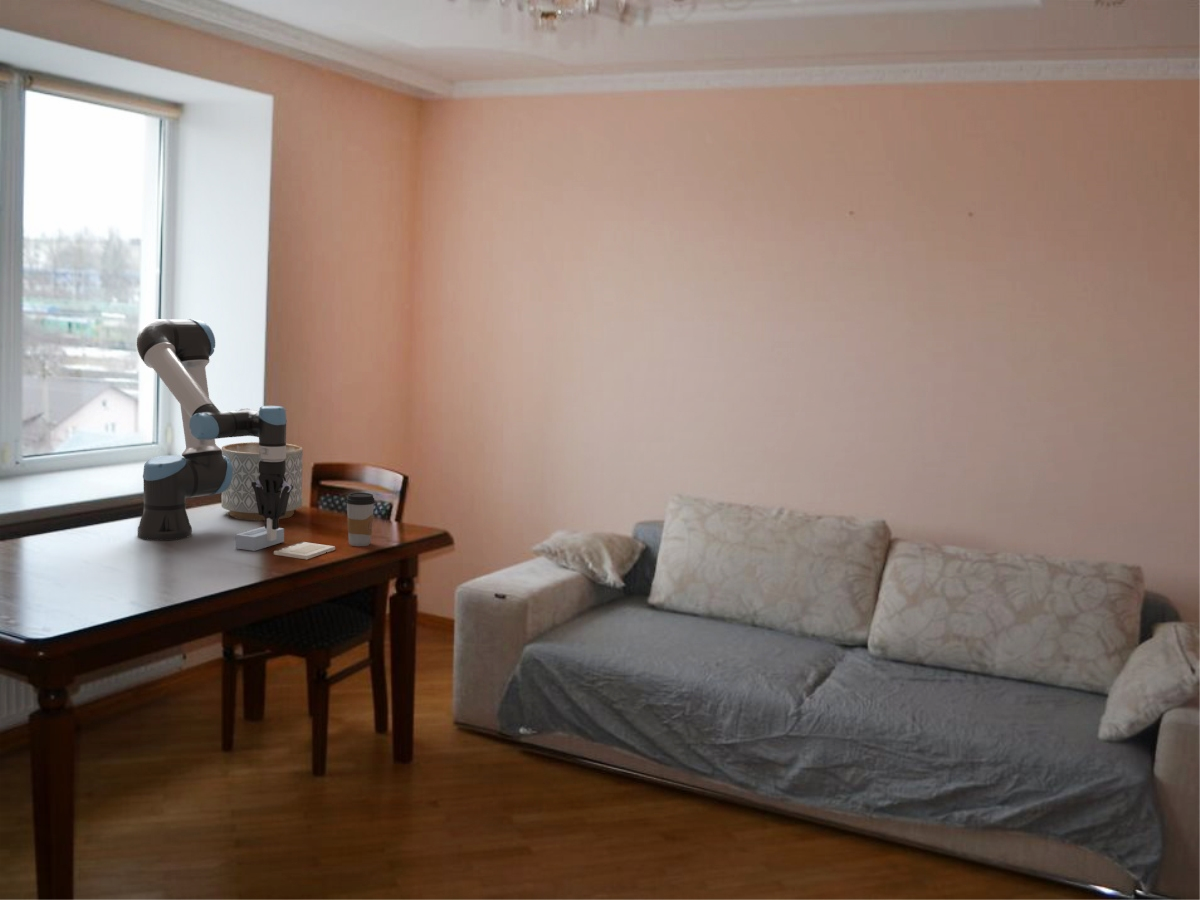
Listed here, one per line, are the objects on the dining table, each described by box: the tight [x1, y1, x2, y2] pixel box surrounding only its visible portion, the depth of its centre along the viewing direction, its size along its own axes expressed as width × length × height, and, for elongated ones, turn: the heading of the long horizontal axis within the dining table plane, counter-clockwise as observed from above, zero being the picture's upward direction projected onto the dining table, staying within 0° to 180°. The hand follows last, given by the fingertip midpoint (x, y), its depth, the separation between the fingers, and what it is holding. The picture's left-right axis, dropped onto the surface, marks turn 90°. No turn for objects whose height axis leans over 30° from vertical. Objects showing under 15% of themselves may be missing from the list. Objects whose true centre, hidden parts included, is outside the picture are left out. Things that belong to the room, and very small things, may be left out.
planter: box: [221, 441, 304, 521], centre depth 375 cm, size 26×26×22 cm
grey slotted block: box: [235, 525, 285, 552], centre depth 333 cm, size 6×14×4 cm, turn 160°
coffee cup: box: [345, 492, 376, 547], centre depth 340 cm, size 8×8×15 cm
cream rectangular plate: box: [273, 541, 336, 560], centre depth 328 cm, size 11×14×1 cm
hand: (271, 539), depth 331 cm, fingers closed
